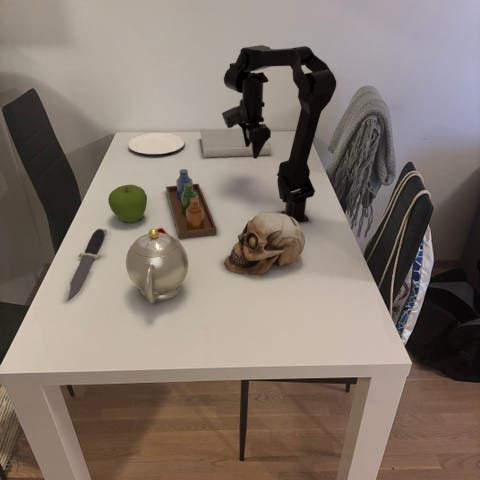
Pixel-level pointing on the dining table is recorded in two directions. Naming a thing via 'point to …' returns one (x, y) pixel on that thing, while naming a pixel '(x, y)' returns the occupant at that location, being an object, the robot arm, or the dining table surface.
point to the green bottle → (187, 196)
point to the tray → (181, 219)
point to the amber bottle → (195, 215)
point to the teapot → (157, 265)
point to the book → (227, 143)
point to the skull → (266, 244)
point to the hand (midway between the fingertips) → (251, 152)
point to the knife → (86, 261)
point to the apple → (128, 203)
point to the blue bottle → (182, 182)
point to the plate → (156, 143)
